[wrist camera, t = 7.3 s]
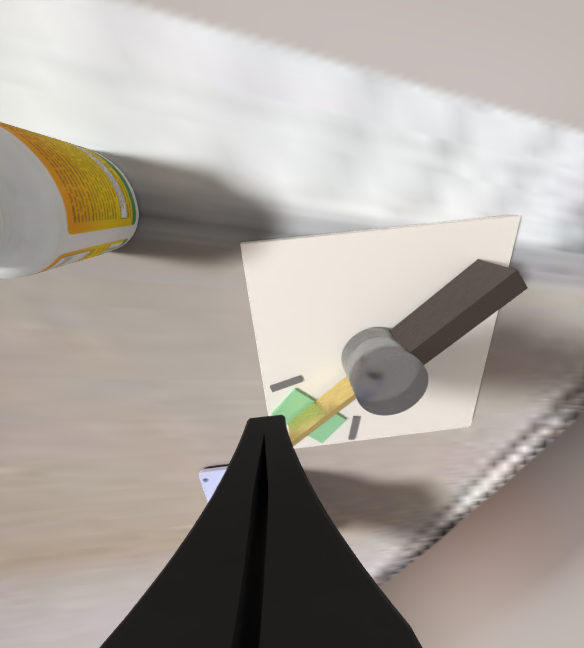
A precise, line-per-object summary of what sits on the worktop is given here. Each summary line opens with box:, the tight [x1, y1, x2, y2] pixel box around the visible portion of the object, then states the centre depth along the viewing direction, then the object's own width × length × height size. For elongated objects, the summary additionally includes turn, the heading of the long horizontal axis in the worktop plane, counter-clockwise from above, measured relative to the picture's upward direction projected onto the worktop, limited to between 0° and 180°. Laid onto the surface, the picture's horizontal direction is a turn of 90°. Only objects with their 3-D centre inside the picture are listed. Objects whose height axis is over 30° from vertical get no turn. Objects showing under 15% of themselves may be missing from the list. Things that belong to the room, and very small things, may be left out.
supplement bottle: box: [0, 122, 139, 279], centre depth 11 cm, size 5×5×10 cm
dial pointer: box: [288, 259, 527, 446], centre depth 18 cm, size 17×4×4 cm, turn 134°
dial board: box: [240, 215, 521, 449], centre depth 20 cm, size 17×17×1 cm
